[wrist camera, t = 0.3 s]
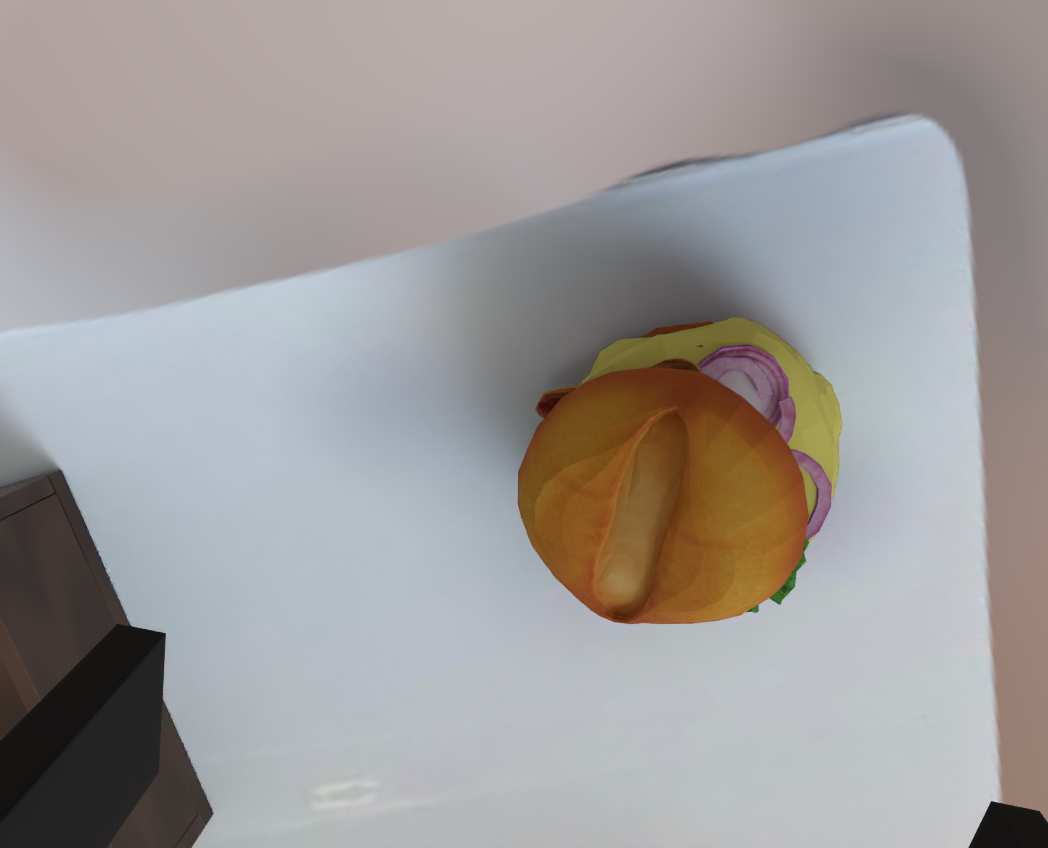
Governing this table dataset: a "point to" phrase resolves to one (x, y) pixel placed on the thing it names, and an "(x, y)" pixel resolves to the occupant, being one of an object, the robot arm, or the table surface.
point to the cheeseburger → (683, 474)
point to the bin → (75, 643)
